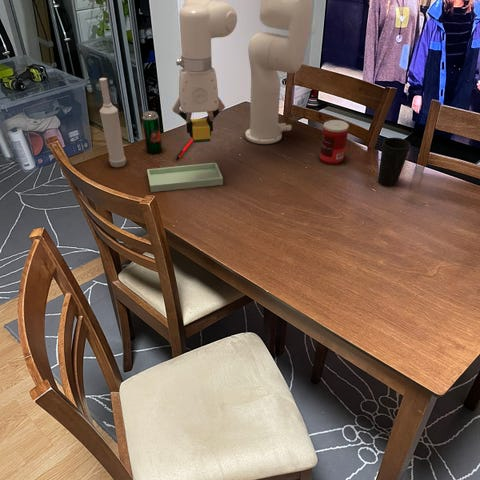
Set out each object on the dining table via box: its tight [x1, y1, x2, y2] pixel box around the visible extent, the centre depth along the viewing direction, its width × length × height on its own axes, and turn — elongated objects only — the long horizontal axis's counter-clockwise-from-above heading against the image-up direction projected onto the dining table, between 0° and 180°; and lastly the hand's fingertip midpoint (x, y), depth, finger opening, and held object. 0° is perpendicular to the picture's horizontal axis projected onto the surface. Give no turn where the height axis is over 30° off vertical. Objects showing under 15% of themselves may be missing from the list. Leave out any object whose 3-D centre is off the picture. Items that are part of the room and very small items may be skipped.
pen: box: [175, 137, 194, 161], centre depth 159 cm, size 1×19×1 cm, turn 164°
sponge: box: [191, 117, 211, 144], centre depth 133 cm, size 4×7×4 cm, turn 13°
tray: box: [146, 162, 224, 193], centre depth 142 cm, size 21×10×2 cm, turn 103°
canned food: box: [319, 119, 350, 165], centre depth 150 cm, size 8×8×11 cm
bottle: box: [99, 77, 127, 168], centre depth 142 cm, size 5×5×25 cm
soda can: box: [141, 110, 163, 154], centre depth 153 cm, size 5×5×12 cm
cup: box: [377, 137, 412, 188], centre depth 139 cm, size 8×8×12 cm
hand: (200, 133), depth 134 cm, fingers closed on sponge, 4 cm apart
